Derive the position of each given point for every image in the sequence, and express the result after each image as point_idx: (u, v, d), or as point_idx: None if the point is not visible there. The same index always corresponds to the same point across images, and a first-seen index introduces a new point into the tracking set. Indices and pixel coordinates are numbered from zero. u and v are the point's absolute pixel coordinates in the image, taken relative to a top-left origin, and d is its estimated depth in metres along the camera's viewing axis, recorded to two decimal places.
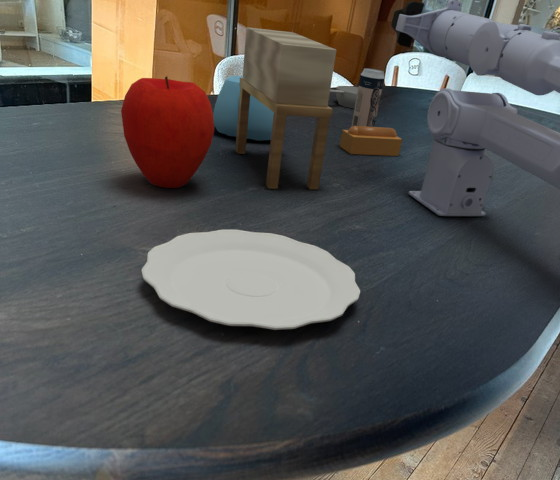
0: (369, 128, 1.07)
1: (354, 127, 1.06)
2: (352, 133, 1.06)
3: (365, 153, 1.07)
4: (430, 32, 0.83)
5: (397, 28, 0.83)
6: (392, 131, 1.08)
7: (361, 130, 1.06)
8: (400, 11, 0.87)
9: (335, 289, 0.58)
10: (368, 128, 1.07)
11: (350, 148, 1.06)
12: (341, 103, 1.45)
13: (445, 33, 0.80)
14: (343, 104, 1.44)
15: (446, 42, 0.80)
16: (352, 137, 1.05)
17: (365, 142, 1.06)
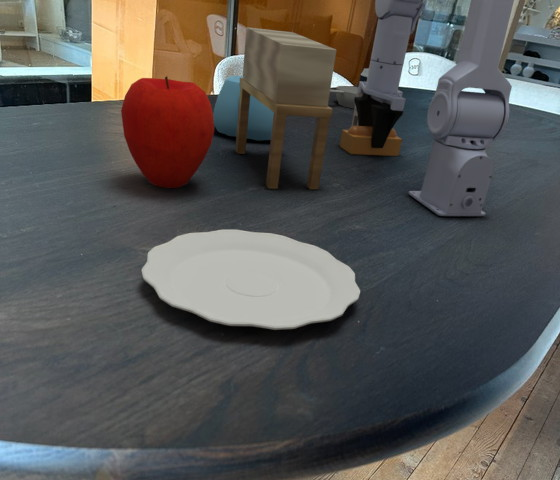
0: (369, 128, 1.07)
1: (354, 127, 1.06)
2: (352, 133, 1.06)
3: (365, 153, 1.07)
4: None
5: None
6: (392, 131, 1.08)
7: (361, 130, 1.06)
8: None
9: (335, 289, 0.58)
10: (368, 128, 1.07)
11: (350, 148, 1.06)
12: (341, 103, 1.45)
13: None
14: (343, 104, 1.44)
15: (374, 58, 1.00)
16: (352, 137, 1.05)
17: (365, 142, 1.06)
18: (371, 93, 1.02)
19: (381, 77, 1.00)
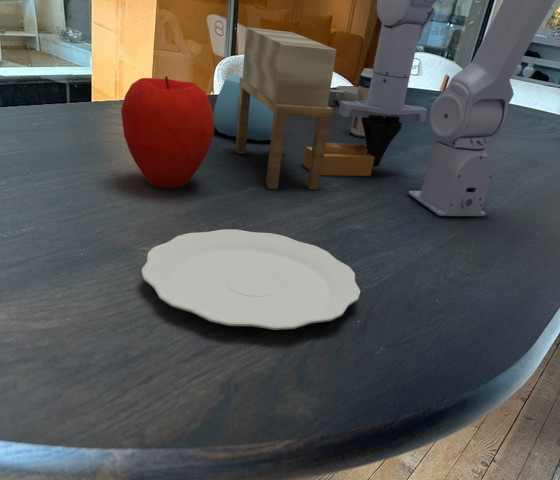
0: (336, 145, 0.93)
1: None
2: None
3: (333, 174, 0.94)
4: (369, 103, 0.91)
5: (343, 112, 0.90)
6: (363, 148, 0.95)
7: (327, 148, 0.92)
8: (367, 147, 0.97)
9: (335, 290, 0.58)
10: (335, 145, 0.93)
11: None
12: None
13: (374, 74, 0.89)
14: None
15: (382, 72, 0.88)
16: None
17: (332, 161, 0.92)
18: (401, 113, 0.91)
19: None
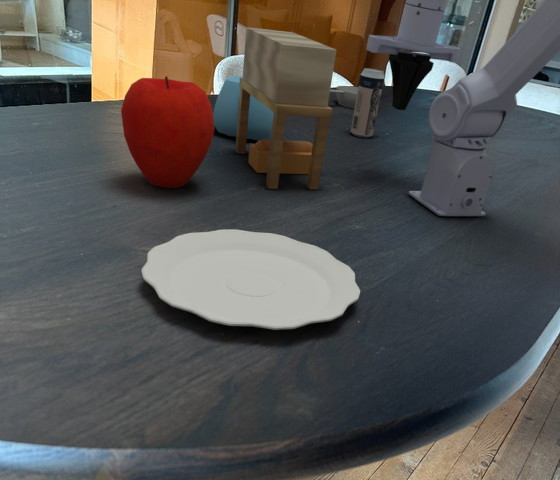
0: None
1: (261, 141, 0.89)
2: (259, 148, 0.89)
3: None
4: (400, 38, 0.85)
5: (371, 47, 0.84)
6: (308, 145, 0.92)
7: None
8: (393, 89, 0.91)
9: (335, 289, 0.58)
10: None
11: (257, 166, 0.90)
12: (341, 103, 1.45)
13: (406, 6, 0.83)
14: (343, 104, 1.44)
15: (414, 3, 0.81)
16: (258, 153, 0.89)
17: None
18: (433, 50, 0.85)
19: (439, 28, 0.84)
